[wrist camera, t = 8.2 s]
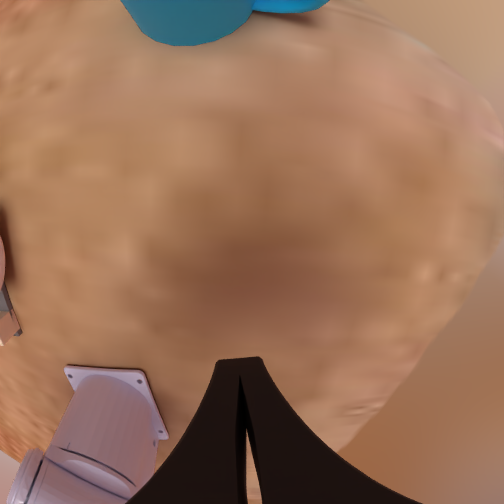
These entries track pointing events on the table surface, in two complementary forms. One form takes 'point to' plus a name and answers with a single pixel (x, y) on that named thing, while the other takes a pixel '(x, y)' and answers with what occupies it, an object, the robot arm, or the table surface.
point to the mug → (204, 17)
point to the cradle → (7, 318)
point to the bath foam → (2, 263)
